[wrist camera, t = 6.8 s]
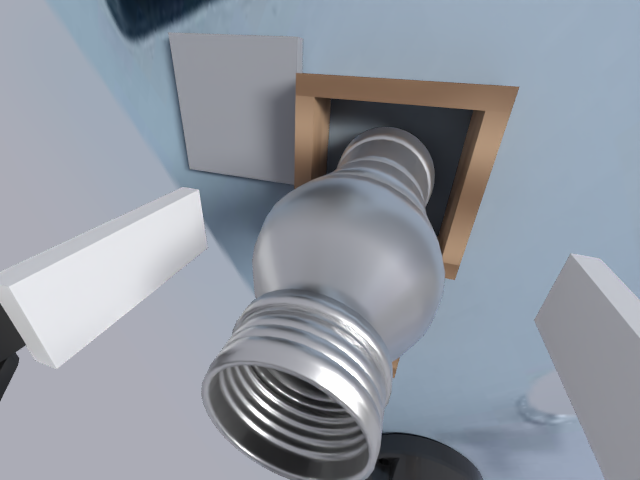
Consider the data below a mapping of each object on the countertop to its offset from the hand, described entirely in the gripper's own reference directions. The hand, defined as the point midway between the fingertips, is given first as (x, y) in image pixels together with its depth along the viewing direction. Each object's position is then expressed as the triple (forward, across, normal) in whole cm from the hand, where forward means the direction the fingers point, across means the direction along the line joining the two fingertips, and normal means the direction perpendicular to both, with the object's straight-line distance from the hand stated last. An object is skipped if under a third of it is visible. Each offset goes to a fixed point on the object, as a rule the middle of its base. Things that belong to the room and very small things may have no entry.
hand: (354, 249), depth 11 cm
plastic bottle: (+14, 0, 0) cm, 14 cm away
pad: (+13, +12, -2) cm, 18 cm away
